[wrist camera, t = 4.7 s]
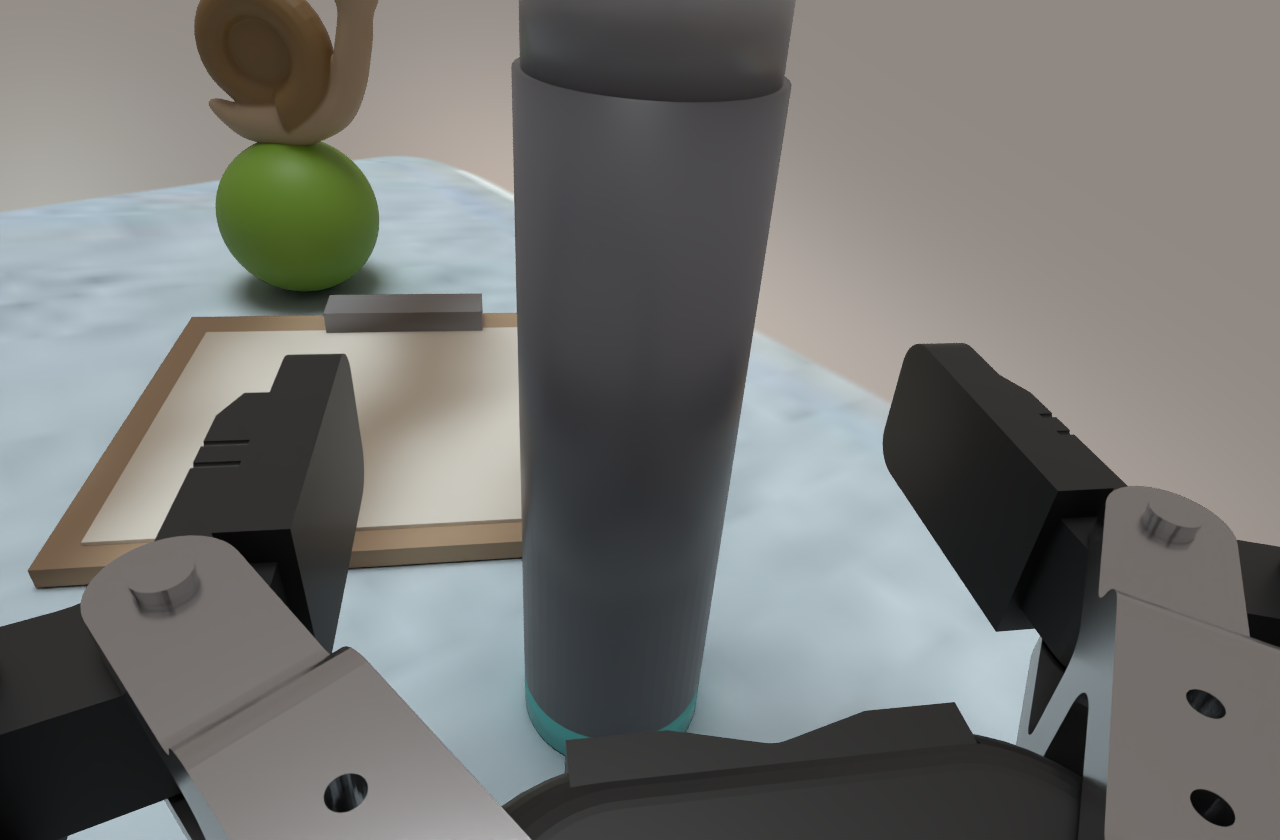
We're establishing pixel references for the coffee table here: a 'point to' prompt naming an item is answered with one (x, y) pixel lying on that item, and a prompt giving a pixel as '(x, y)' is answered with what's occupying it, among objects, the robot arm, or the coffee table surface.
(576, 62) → the cylinder
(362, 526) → the clipboard
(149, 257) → the coffee table surface
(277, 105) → the snail figurine
